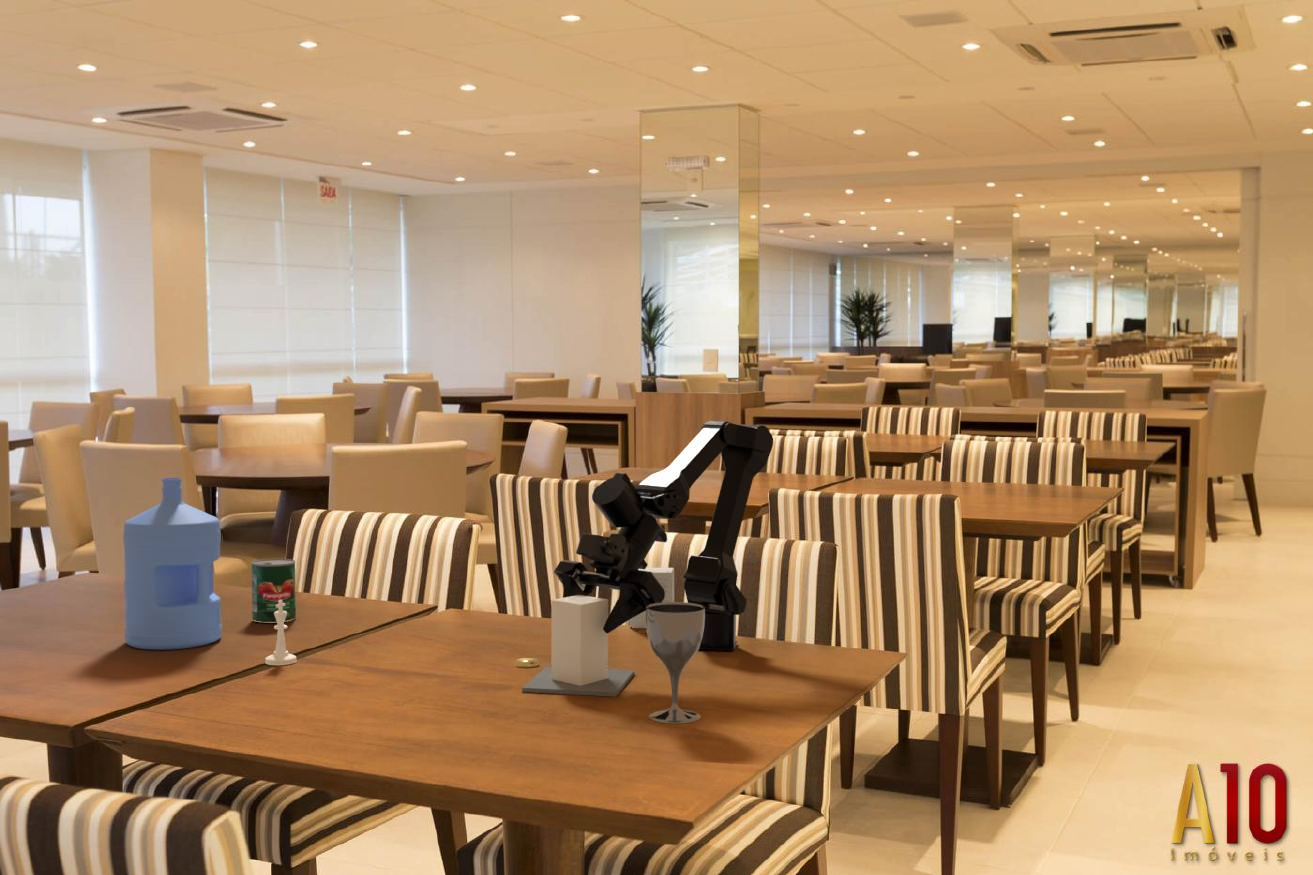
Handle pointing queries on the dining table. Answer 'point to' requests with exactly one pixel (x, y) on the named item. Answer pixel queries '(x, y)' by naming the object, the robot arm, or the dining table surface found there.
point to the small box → (667, 582)
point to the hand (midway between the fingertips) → (582, 627)
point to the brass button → (527, 662)
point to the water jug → (171, 575)
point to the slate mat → (598, 688)
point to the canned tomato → (273, 588)
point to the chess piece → (280, 640)
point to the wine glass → (675, 648)
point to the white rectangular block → (579, 639)
